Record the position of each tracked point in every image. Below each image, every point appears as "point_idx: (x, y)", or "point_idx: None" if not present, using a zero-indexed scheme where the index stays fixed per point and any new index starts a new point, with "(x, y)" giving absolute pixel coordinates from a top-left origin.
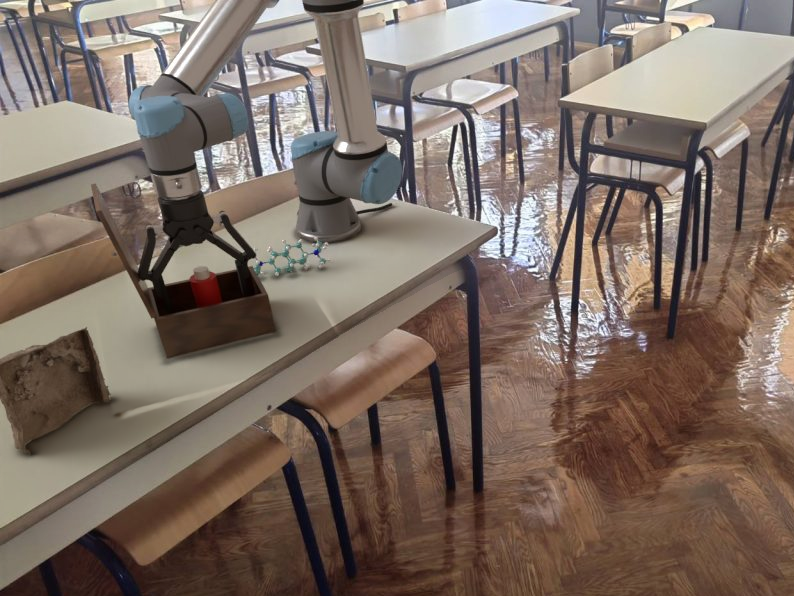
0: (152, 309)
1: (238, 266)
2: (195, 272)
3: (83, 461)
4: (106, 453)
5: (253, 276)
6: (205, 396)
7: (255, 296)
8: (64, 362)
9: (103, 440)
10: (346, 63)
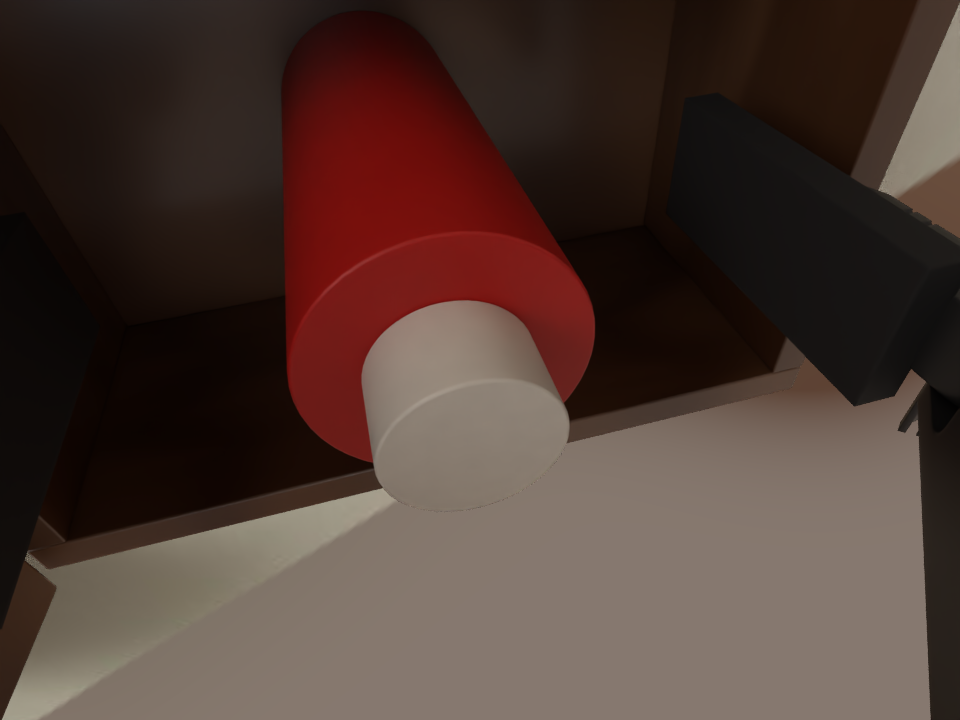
0: (21, 640)
1: (857, 395)
2: (406, 504)
3: (30, 684)
4: (86, 666)
5: (892, 78)
6: (334, 520)
7: (722, 401)
8: None
9: (47, 642)
10: None
